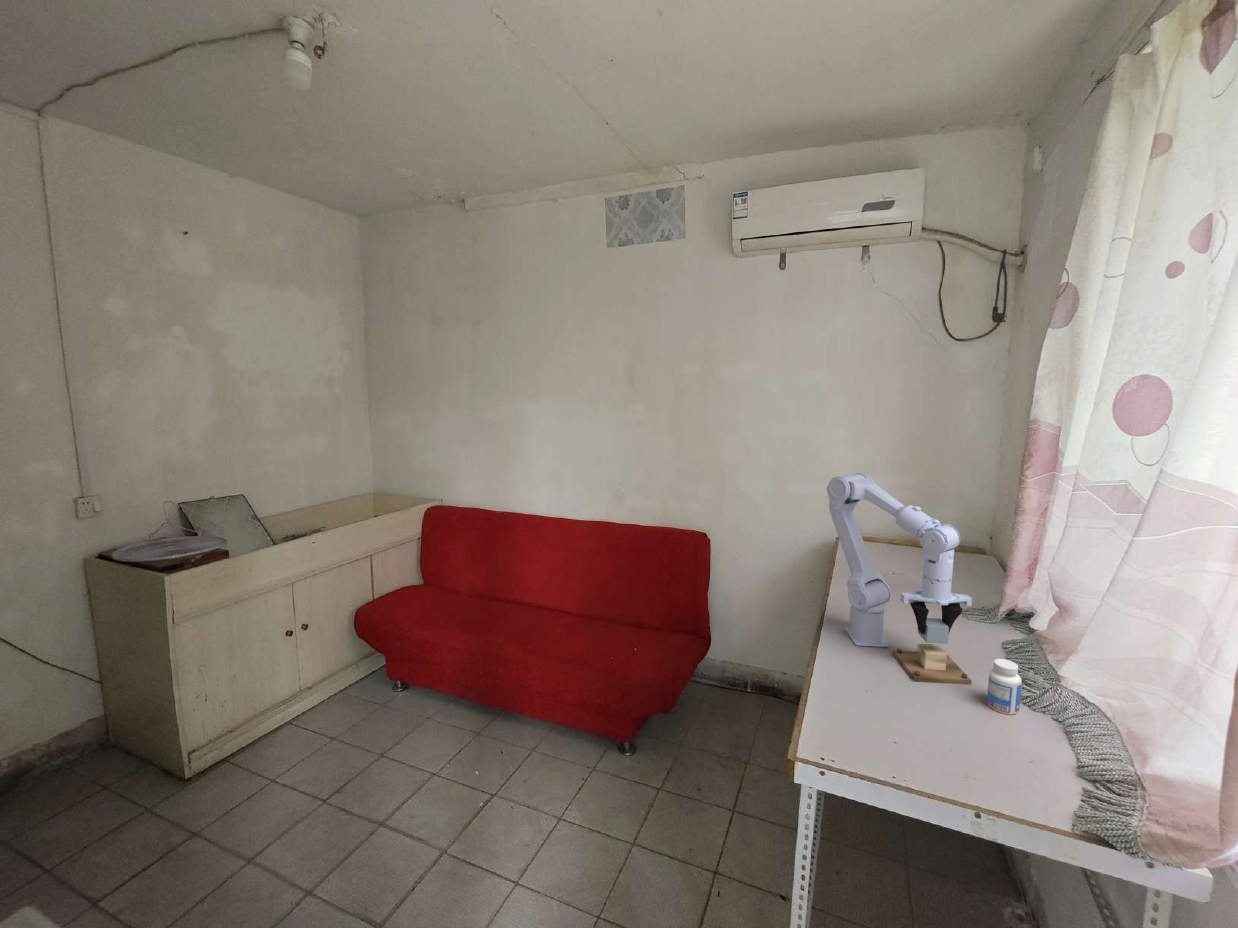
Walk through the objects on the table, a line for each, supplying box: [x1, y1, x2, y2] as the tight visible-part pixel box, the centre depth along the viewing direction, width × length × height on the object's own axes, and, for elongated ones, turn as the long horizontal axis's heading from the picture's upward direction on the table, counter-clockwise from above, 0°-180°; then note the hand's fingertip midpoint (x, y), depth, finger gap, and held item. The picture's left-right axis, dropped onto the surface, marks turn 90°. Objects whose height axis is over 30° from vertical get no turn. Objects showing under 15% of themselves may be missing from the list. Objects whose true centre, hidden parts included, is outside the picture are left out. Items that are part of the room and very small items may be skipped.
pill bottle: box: [986, 658, 1023, 715], centre depth 106 cm, size 6×5×10 cm
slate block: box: [917, 617, 950, 645], centre depth 120 cm, size 4×4×4 cm
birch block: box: [916, 643, 948, 670], centre depth 121 cm, size 4×4×4 cm
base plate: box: [892, 648, 973, 685], centre depth 121 cm, size 12×12×2 cm
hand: (933, 632), depth 120 cm, fingers closed on slate block, 4 cm apart
